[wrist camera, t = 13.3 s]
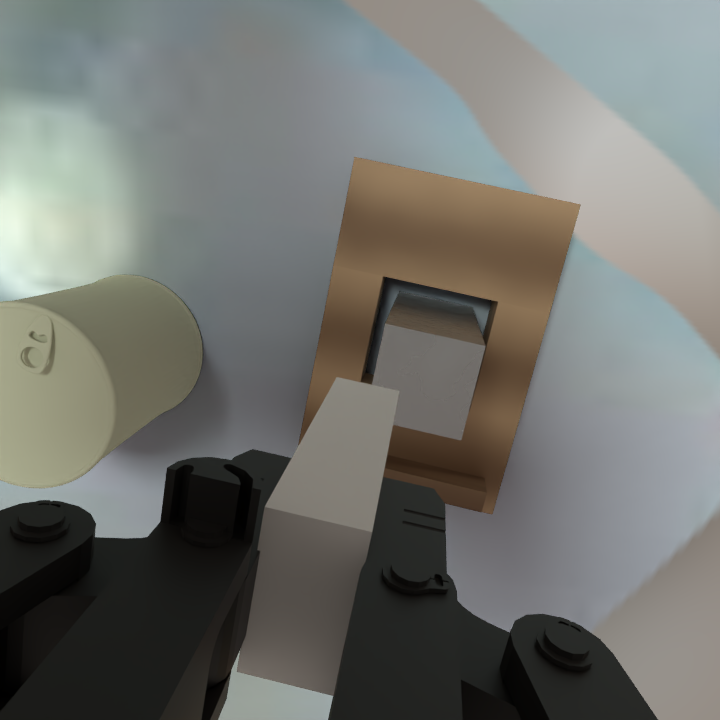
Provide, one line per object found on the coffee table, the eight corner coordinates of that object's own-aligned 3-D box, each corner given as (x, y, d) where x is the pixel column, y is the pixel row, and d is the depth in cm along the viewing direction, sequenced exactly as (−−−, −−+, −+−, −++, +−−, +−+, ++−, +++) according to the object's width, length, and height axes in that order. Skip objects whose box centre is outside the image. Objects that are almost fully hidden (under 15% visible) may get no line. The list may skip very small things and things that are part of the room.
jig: (361, 160, 37) (349, 153, 32) (569, 204, 36) (589, 204, 31) (304, 448, 42) (286, 479, 37) (488, 492, 41) (495, 531, 36)
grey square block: (399, 291, 39) (385, 323, 28) (472, 307, 38) (485, 345, 28) (384, 361, 40) (364, 418, 29) (454, 377, 39) (461, 440, 29)
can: (223, 309, 40) (135, 351, 28) (178, 437, 42) (80, 524, 31) (87, 251, 40) (-55, 269, 29) (49, 382, 43) (-96, 448, 31)
